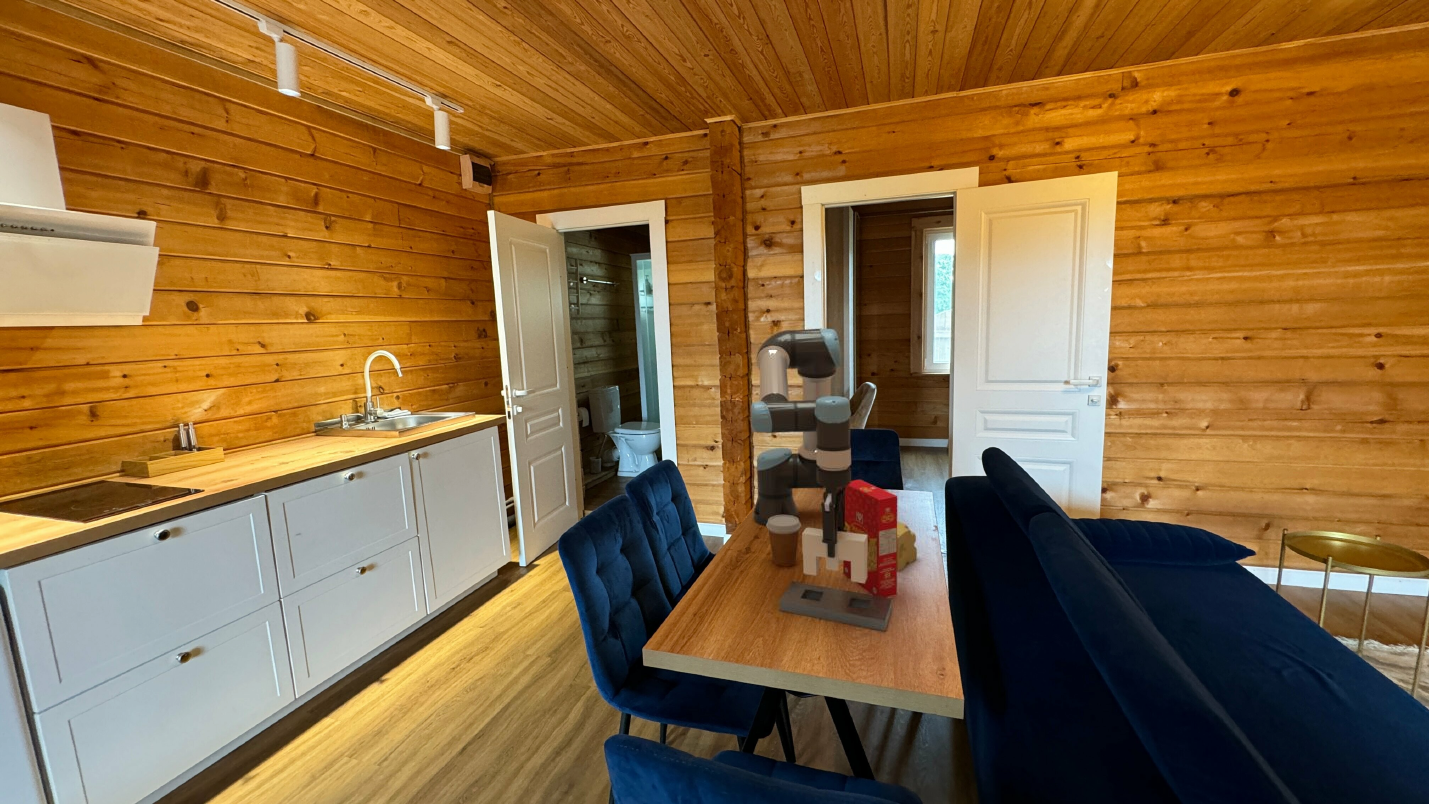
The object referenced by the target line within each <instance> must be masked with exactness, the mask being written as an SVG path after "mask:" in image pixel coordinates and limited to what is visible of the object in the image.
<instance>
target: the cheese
mask: <svg viewBox="0 0 1429 804" xmlns="http://www.w3.org/2000/svg"><path fill="white" fill-rule="evenodd" d="M916 541H917V538H916V533H915V532H913V531H911V529H910V528H909V526H908V525H907V524H905V523H903V522H900V521H898V520H897V572H900V571H901V570H903V569H904V568H905V567H906V565H907V564H911V563H912V562H914V561H916V560H917V556H918V549H917V547H916V546H915V544H916Z"/></svg>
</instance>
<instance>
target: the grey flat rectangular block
mask: <svg viewBox="0 0 1429 804" xmlns="http://www.w3.org/2000/svg"><path fill="white" fill-rule="evenodd" d="M778 603H779V605H778V607H779V611H781V612H785V613H789V614H796V615H800V616H806V617H812V618H816V619H820V620H821V619H822V620H824V621H825V620H826V621H831V622H836V623H841V624H845V625H851V626H856V627H861V628H867V629H871V630H877V631H880V632H881V631H882V632H886V631H887V627H888V623H889V620H890V617H891V614H892V611H893V598H892V597H881V596H875V595H872V594H870V593H869V594H867V593H865V592H864V593H863V592H856V591H851V590H845V589H841V588H835V587H827V586H823V585H816V584H810V583H803V582H798V581H794V580H793V581H792V580H791V582H790V584H789V585H788V587H787V588H786V589H785V591H784V593H783V594H782V596H781V597H780V599H779V600H778Z"/></svg>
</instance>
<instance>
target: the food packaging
mask: <svg viewBox="0 0 1429 804" xmlns="http://www.w3.org/2000/svg"><path fill="white" fill-rule="evenodd" d="M845 487H846V490H845V528H843V529H846V530H847V532H848V533H856V534H864V535H867V545H868V556H867V579H866V582H865V583H859V582H854V583H855V584H857V585H858V586H859V587H861V588H862V589H864V590H865V591H867V592H868V593H869V594H870V595H875V596H881V597H887V598H891V597H893V596H896V595H898V594H897V593H898V592H897V591H898V590H897V589H898V588H897V587H898V574H897V573H898V571H897V521H898V495H896V494H894V493H892V492H889V491H887V490H884V489H882V488H880V487H877V486H876V485H873V484H871V483H868V482H866V481H864V480H863V479H855V480H851V483H850V484H849V485H847V486H845ZM842 563H843V565H842V567H843V569H842V571H843V575H844V576H846V577H847V578H849V579H850V580H851V561H846V560H843V562H842Z"/></svg>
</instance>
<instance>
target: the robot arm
mask: <svg viewBox="0 0 1429 804" xmlns="http://www.w3.org/2000/svg"><path fill="white" fill-rule="evenodd" d="M839 341H840V340H839V336H838V333H837V332H836V330H835V329H833V328H821V327H820V328H810V329H809V328H808V329H794V330H793V329H791V330H790V329H789V330H788V329H787V330H782V331H779V332H776V333H774V334H773V335H770V336H769V337H768V338H767V339H766V340H765V341H764V342H763V343H762V344H761V345H760V347H759V348H758V351H757V353H756V366H757V369H758V370H759V401H755V402H753V403H751V406H750V421H751V429H752V431H753V432H755V433H760V434H761V433H762V434H763V433H765V434H774V433H776V434H777V433H802V444H801V445H800V446H799V447H798V453H793V451H792V450H791V448H789V447H787V448H784V447H776V448H772V449H767V450H764V451H763V452H761V453H759V454H758V456H757V459H756V467H755V469H756V473H757V474H756V475H757V476H756V478H757V479H756V480H757V481H756V482H757V499H756V502H755V505H754V508H753V513H752V515H753V520H754V521H755V522H756V523H757V524H760V525H764V526H766V524H767V523H768V519H769V518H770V517H773V516H776V515H790V516H794V517H796V518H798V519H799V510H798V507H797V504H796V501H795V498H794V497H793V493H794V492H793V490H794V489H796V490H797V489H820V490H823V489H825V491H824V492H823V494H822V495H823V496H822V499H823V500H822V501H821V503H820V507H821V513H822V514H821V518H822V521H821V522H822V523H821V524H822V529H823V540H822V542H823V543H826V558H825V569H826V570H828V571H836V572H838V571H839V570H840V564H839V563H843V560H839V546H838V542H837V531H840V532H847V530H846V529H843V528H845V490H846V487H845V486H847V485H849V484H850V483H851V481H852V468H851V467H850V466H851V465H852V455H851V454H852V453H851V452H852V450H851V449H852V448H851V416H852V411H851V405H850V404H851V403H850V400H849V399H848V398H847V397H844V396H836V395H834V396H832V395H831V389H832V388H831V383H832V382H831V381H832V380H831V379H833V377H834V376H835V375H836V374H837V369H838V368H840V367H842V352H841V347H840V342H839ZM794 369H795V370H797V375H798V376H799V377H800V378H801V379H802V400H790V393H789V382H788V381H789V379H788V370H794Z"/></svg>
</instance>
